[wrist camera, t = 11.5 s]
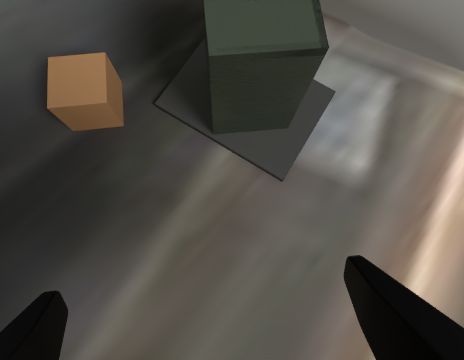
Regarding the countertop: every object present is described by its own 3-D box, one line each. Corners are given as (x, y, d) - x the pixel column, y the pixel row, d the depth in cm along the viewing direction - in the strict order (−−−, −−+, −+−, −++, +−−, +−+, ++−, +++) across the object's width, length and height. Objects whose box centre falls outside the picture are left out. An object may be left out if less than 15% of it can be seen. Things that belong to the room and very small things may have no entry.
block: (124, 126, 26) (106, 102, 22) (73, 131, 26) (47, 108, 22) (122, 82, 27) (105, 52, 23) (73, 87, 26) (48, 57, 23)
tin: (287, 128, 26) (328, 47, 16) (213, 134, 25) (209, 55, 15) (277, 63, 27) (309, -48, 17) (207, 68, 27) (199, -42, 17)
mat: (333, 94, 27) (335, 91, 26) (282, 181, 25) (283, 180, 24) (214, 28, 28) (214, 24, 28) (155, 106, 26) (154, 103, 26)
